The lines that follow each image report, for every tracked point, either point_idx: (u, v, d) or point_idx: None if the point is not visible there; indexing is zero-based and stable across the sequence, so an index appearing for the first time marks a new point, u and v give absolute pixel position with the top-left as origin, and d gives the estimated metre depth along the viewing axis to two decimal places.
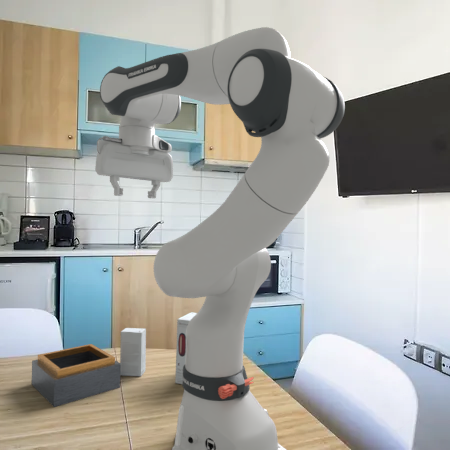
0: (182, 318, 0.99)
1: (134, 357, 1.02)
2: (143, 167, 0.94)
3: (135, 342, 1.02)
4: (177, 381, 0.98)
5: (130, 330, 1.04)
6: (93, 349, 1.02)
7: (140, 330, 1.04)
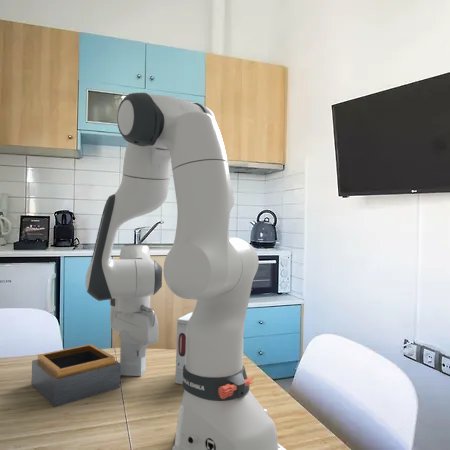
0: (182, 318, 0.99)
1: (134, 357, 1.02)
2: None
3: (135, 342, 1.02)
4: (177, 381, 0.98)
5: None
6: (93, 349, 1.02)
7: None
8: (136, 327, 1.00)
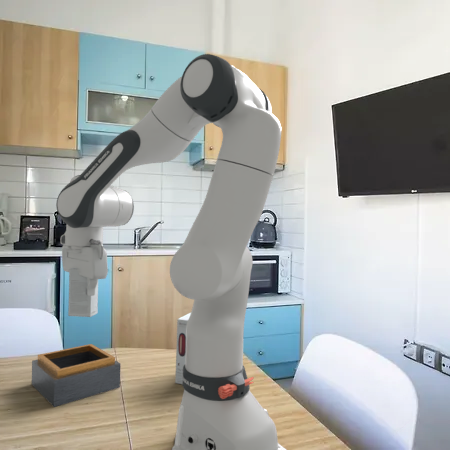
0: (182, 318, 0.99)
1: (83, 296, 0.95)
2: None
3: (84, 280, 0.94)
4: (177, 381, 0.98)
5: None
6: (93, 349, 1.02)
7: None
8: (84, 262, 0.92)
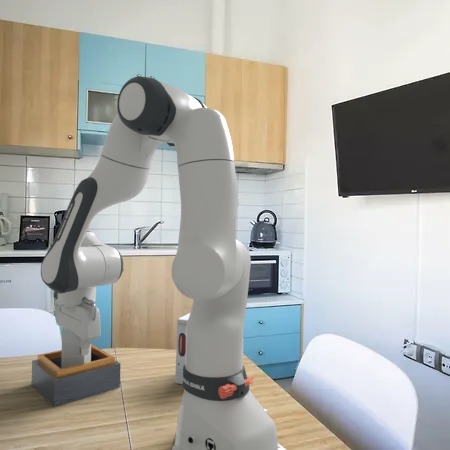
0: (182, 318, 0.99)
1: (76, 360, 0.94)
2: None
3: (77, 344, 0.94)
4: (177, 381, 0.98)
5: None
6: (93, 349, 1.02)
7: None
8: (77, 321, 0.91)
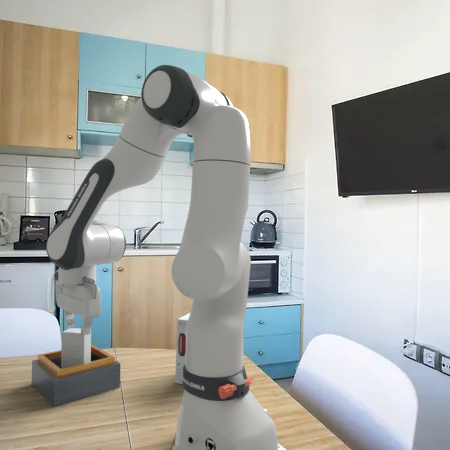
0: (182, 318, 0.99)
1: (76, 360, 0.94)
2: None
3: (77, 344, 0.94)
4: (177, 381, 0.98)
5: (73, 330, 0.95)
6: (93, 349, 1.02)
7: None
8: (78, 301, 0.91)
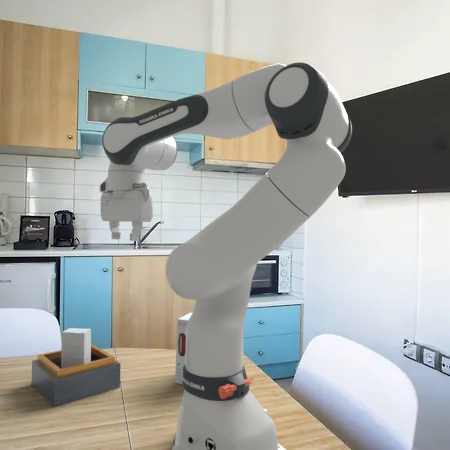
0: (182, 318, 0.99)
1: (76, 360, 0.94)
2: None
3: (77, 344, 0.94)
4: (177, 381, 0.98)
5: (73, 330, 0.95)
6: (93, 349, 1.02)
7: (84, 330, 0.95)
8: (128, 206, 0.90)
